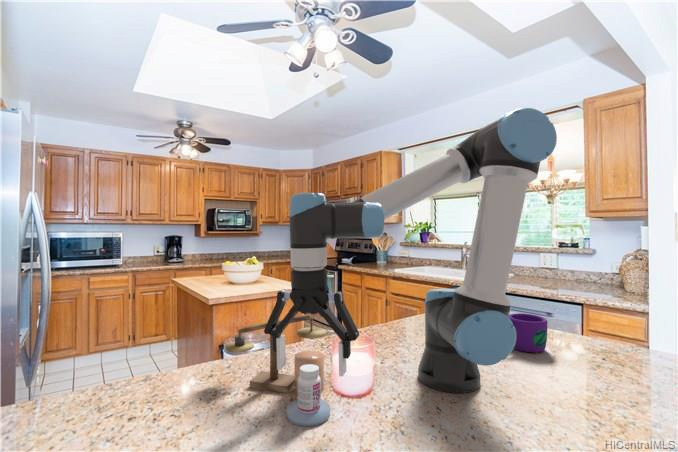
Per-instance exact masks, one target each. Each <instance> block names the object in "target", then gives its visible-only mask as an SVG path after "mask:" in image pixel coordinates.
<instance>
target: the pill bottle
mask: <svg viewBox="0 0 678 452" xmlns="http://www.w3.org/2000/svg"><path fill="white" fill-rule="evenodd" d="M299 374H300V376H299V378H298V394H297V400H298V403H297V407H298V410H299V411H300V412H302V413H306V414H311V413H315V412H317V411H318V410H319V409H320V399H321V394H322V393H321V379H320V377H319V367H318V366H317V365H313V364H307V365H303V366H301V367H300V373H299Z"/></svg>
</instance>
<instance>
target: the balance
mask: <svg viewBox="0 0 678 452" xmlns="http://www.w3.org/2000/svg"><path fill="white" fill-rule="evenodd" d="M313 315H314V314H310V313H306V314H302V315H298V316H295V317H294V318H293V319H292V321H291V322H290V323H289V324H294V323H298V322H303V321H309V320H310V323H309V324H310V325H309V327H303V328H299V329H297V330H296V336H297V337H298V338H301V339H305V340H306V339H309V340H313V339H321V338H324V337H325V336H326V335H327V330H326V329H325V328H322V327H317V326H313V319H314V316H313ZM282 320H283V319H278V322H277V324H276V326H275V328H277V326H278V325H279V324H280V322H281V321H282ZM266 325H267V322H264V323H259V324H254V325H249V326H244V327H241V328H239V329H237V333H238V335H236V336H234V341H232V342H231V341H230V342H228V343H226V344H225V346H224V349H225V351H226V352H230V353H244V352H248V351H251V350H252V349H254V348H255V343H254V342H253V341H250V340H245V336H244V335H241V334H244V333H248V332H253V331H254V332H255V331H260V330H264V329H265V327H266ZM269 339H270V340H269V344H270V346H269V351H270V352H269V353H270V354H269V360H270V361H269V371H264V370H261V372H259V373H258V374H256V375H255V376H254V377H253V378H252V379H250V380H249V388H251V389H255V390H263V391H270V392H275V393H276V392H278V393H282V394H289V393H290V392H291V390H292V389H294V378H295V374H286V373H279V370H277V352H274V351H273V337H272V336H271V335H270V337H269Z"/></svg>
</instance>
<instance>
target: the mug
mask: <svg viewBox="0 0 678 452" xmlns="http://www.w3.org/2000/svg"><path fill="white" fill-rule="evenodd" d="M509 319H510V320H511V321H512V323H513V326H514V327H515V329H516V343H515V346H514V348H513V350H514V349H515V350H516V349H517V351H519V350H520V351H519V352H523V351H525V352H524V353H528V352H535V353H534V354H537V353H536V352H539V353H542V352H543V351H546V350H545V349H546V347H547V341H548V320H547V318H545V317H542V316H540V315H536V314H530V313H517V312H516V313H511V314H510V313H509Z"/></svg>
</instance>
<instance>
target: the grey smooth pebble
mask: <svg viewBox="0 0 678 452" xmlns="http://www.w3.org/2000/svg"><path fill="white" fill-rule="evenodd" d="M297 403H298V399H296V400H293V401H292V402H290V403H289V404H288V405H287V407H286V418H287V421H288V422H289V423H291V424H293V425H295V426H299V427H305V428H306V427H308V428H309V427H315V426H319V425H321V424H324V423H325V422H327V421H328V420H329V418H330V417H331V406H330V404H329V403H328V402H327V401H325V399H324V400H323V399H321V398H320V409H319V410H318V411H317V412H315V413H311V414H306V413H302V412H300V411H299V410H298V407H297Z"/></svg>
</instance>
